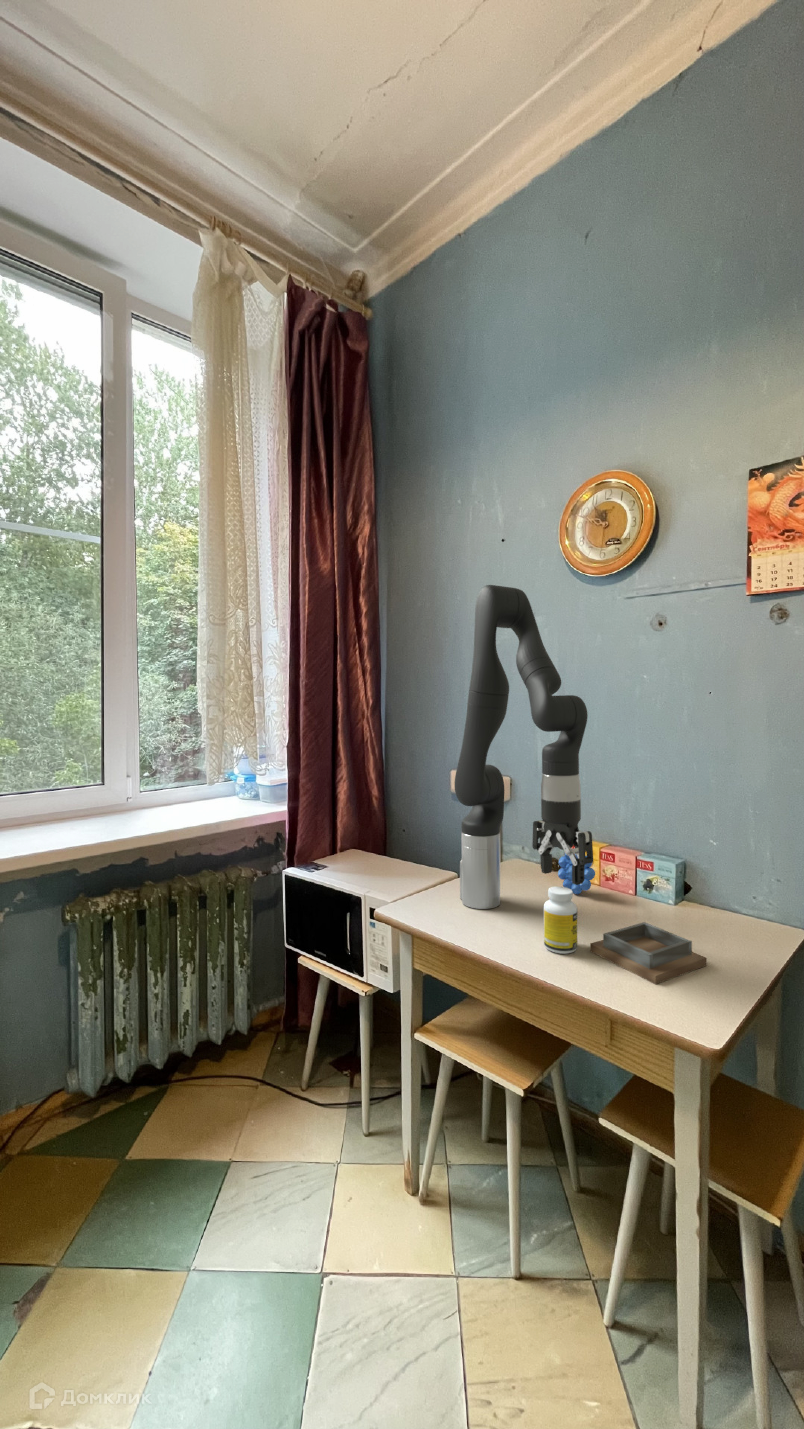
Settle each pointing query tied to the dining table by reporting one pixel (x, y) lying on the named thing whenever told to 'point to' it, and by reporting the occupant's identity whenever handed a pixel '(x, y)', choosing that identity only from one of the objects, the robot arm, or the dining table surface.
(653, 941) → the collar board
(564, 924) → the pill bottle
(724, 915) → the dining table surface
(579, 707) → the robot arm
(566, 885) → the grapes
